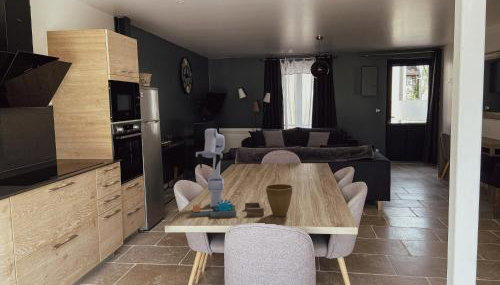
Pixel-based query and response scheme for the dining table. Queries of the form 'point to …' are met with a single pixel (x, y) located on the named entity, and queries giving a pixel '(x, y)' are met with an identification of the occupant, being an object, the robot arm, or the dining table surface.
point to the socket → (216, 213)
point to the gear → (224, 206)
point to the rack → (254, 209)
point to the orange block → (197, 209)
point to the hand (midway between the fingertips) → (208, 168)
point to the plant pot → (279, 198)
